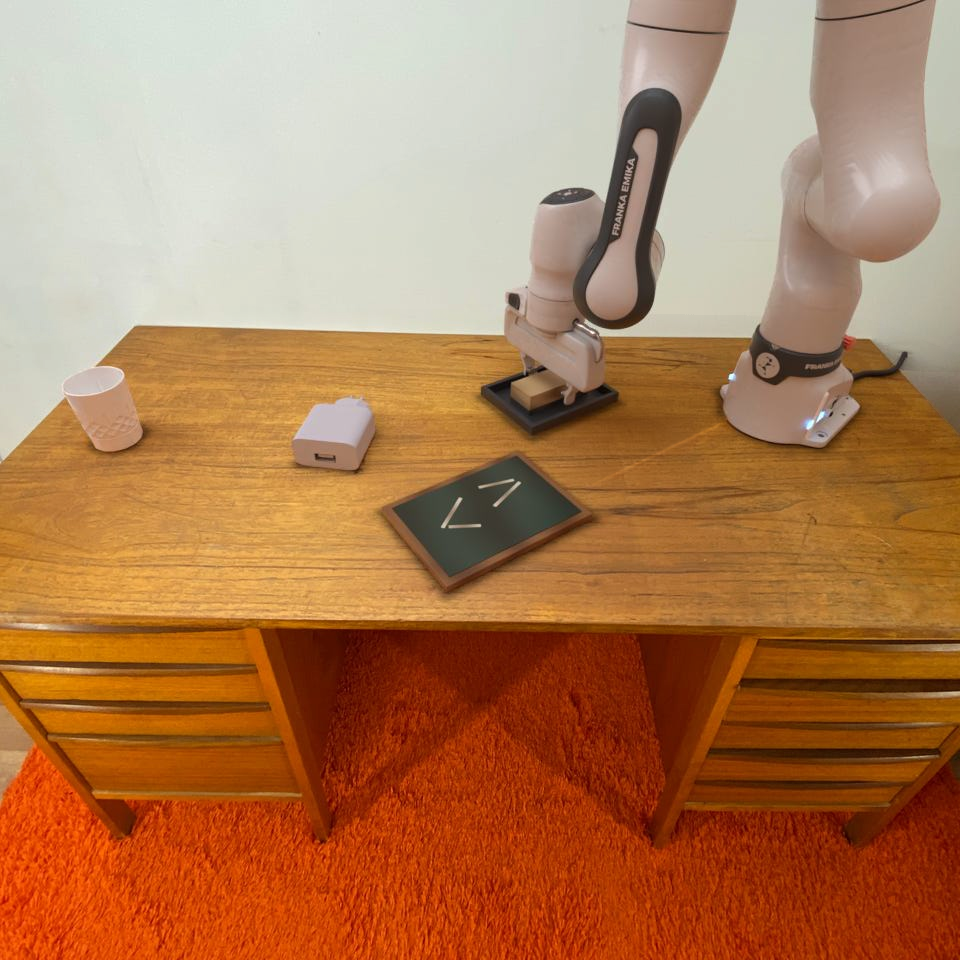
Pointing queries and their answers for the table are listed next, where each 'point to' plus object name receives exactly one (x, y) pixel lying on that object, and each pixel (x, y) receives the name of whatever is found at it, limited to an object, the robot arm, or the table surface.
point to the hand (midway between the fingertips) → (548, 388)
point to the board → (484, 518)
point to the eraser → (538, 392)
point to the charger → (335, 435)
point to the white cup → (104, 407)
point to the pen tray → (552, 416)
